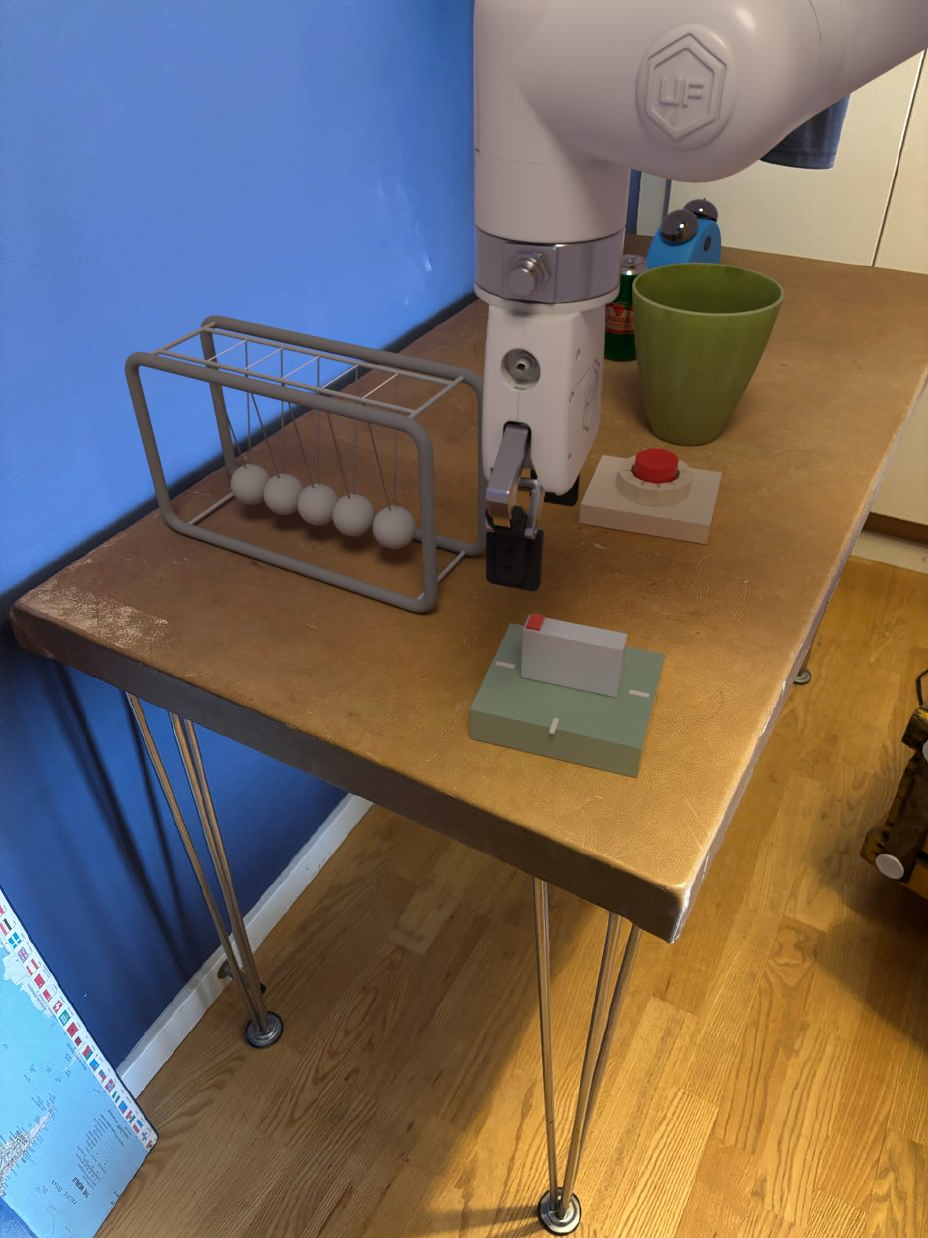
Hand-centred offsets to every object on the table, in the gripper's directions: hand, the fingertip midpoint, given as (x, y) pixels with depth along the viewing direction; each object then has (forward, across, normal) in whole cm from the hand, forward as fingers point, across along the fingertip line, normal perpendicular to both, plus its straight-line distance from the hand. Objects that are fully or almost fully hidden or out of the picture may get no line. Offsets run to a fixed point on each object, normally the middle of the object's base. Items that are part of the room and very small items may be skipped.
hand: (534, 540), depth 57 cm
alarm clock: (+16, +83, +1) cm, 84 cm away
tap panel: (+15, +2, -3) cm, 16 cm away
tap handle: (+12, +2, -3) cm, 13 cm away
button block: (+15, +32, -4) cm, 35 cm away
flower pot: (+16, +48, -5) cm, 51 cm away
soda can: (+16, +68, +6) cm, 70 cm away
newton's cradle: (+16, +16, +24) cm, 33 cm away
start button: (+12, +32, -4) cm, 34 cm away
